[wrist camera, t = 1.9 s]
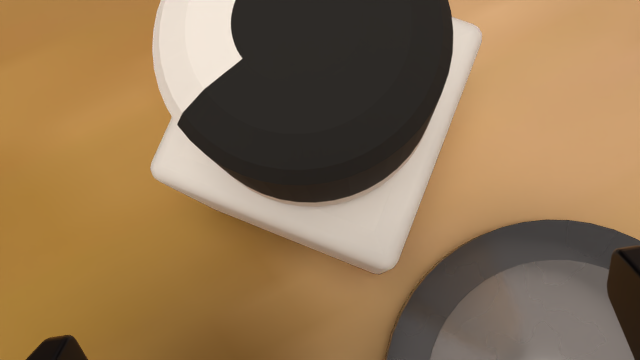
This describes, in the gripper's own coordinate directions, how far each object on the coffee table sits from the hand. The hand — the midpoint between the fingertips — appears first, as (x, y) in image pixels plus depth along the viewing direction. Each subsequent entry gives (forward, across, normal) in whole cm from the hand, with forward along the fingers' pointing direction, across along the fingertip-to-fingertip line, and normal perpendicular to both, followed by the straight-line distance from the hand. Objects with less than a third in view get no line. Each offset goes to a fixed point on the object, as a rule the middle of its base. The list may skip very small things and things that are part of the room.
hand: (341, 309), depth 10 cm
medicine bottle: (+13, 0, +5) cm, 14 cm away
